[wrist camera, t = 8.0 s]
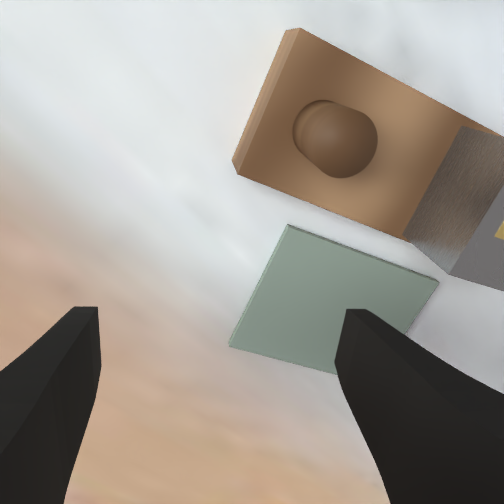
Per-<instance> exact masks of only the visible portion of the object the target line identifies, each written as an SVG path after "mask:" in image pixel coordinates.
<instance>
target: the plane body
mask: <svg viewBox="0 0 504 504" xmlns="http://www.w3.org/2000/svg"><path fill="white" fill-rule="evenodd" d="M461 126H465V127H469V128H472V129H476V130H479V131H483V132H487V133H490V134H494V135H497V136H501V135H499V134H497V133H496V132H494V131H492V130H490V129H488V128H486V127H484V126H482V125H481V124H479V123H477V122H475V121H473V120H471V119H469V118H468V117H466V116H464V115H462V114H460V113H458V112H456V111H454V110H453V109H451V108H449V107H447V106H445V105H443V104H441V103H440V102H438V101H436V100H434V99H432V98H430V97H428V96H426V95H425V94H423V93H421V92H419V91H417V90H415V89H413V88H412V87H410V86H408V85H406V84H404V83H402V82H400V81H399V80H397V79H395V78H393V77H391V76H389V75H387V74H385V73H384V72H382V71H380V70H378V69H376V68H374V67H372V66H371V65H369V64H367V63H365V62H363V61H361V60H359V59H357V58H356V57H354V56H352V55H350V54H348V53H346V52H344V51H343V50H341V49H339V48H337V47H335V46H333V45H331V44H330V43H328V42H326V41H324V40H322V39H320V38H318V37H316V36H315V35H313V34H311V33H309V32H307V31H305V30H303V29H302V28H296V29H291V30H286V31H285V33H284V36H283V38H282V41H281V43H280V45H279V48H278V50H277V53H276V55H275V57H274V60H273V62H272V65H271V67H270V69H269V72H268V74H267V77H266V79H265V81H264V84H263V86H262V89H261V91H260V93H259V96H258V98H257V101H256V103H255V105H254V108H253V110H252V113H251V115H250V117H249V120H248V122H247V125H246V127H245V129H244V132H243V134H242V137H241V139H240V141H239V144H238V146H237V149H236V151H235V153H234V156H233V158H232V162H233V165H234V167H235V169H236V172H237V174H238V175H241V176H243V177H246V178H248V179H251V180H253V181H256V182H258V183H261V184H264V185H266V186H269V187H271V188H274V189H276V190H279V191H281V192H284V193H286V194H289V195H291V196H294V197H296V198H299V199H301V200H304V201H306V202H309V203H311V204H314V205H316V206H319V207H321V208H324V209H326V210H329V211H332V212H334V213H337V214H339V215H342V216H344V217H347V218H349V219H352V220H354V221H357V222H359V223H362V224H364V225H367V226H369V227H372V228H374V229H377V230H379V231H382V232H384V233H387V234H389V235H392V236H394V237H397V238H400V239H402V240H405V241H407V242H410V241H409V240H408V239H407V238H405V237H404V236H403V235H402V233H403V232H404V230H405V228H406V226H407V224H408V222H409V221H410V219H411V217H412V215H413V213H414V211H415V210H416V208H417V206H418V204H419V202H420V201H421V199H422V197H423V195H424V193H425V191H426V190H427V188H428V186H429V184H430V182H431V180H432V179H433V177H434V175H435V173H436V171H437V169H438V168H439V166H440V164H441V162H442V160H443V158H444V157H445V155H446V153H447V151H448V149H449V148H450V146H451V144H452V142H453V140H454V138H455V137H456V135H457V133H458V131H459V129H460V127H461ZM501 137H503V136H501ZM410 243H411V242H410Z"/></svg>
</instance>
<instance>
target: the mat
mask: <svg viewBox="0 0 504 504" xmlns="http://www.w3.org/2000/svg"><path fill="white" fill-rule="evenodd" d="M438 284H439V282H438V281H437V280H436V279H433V278H430V277H428V276H425V275H422V274H420V273H417V272H414V271H412V270H409V269H406V268H404V267H401V266H398V265H396V264H393V263H390V262H388V261H385V260H382V259H379V258H377V257H374V256H371V255H369V254H366V253H363V252H361V251H358V250H355V249H353V248H350V247H347V246H345V245H342V244H339V243H337V242H334V241H331V240H329V239H326V238H323V237H320V236H318V235H315V234H312V233H310V232H307V231H304V230H302V229H299V228H296V227H294V226H291V225H288V224H287V226H286V228H285V230H284V232H283V234H282V236H281V238H280V240H279V242H278V244H277V246H276V248H275V250H274V252H273V254H272V256H271V258H270V260H269V262H268V264H267V266H266V268H265V270H264V272H263V274H262V276H261V278H260V280H259V282H258V284H257V286H256V288H255V290H254V292H253V294H252V296H251V298H250V300H249V302H248V304H247V306H246V309H245V311H244V313H243V315H242V317H241V319H240V321H239V323H238V325H237V327H236V329H235V331H234V333H233V335H232V337H231V339H230V341H229V347H232V348H236V349H240V350H244V351H248V352H252V353H255V354H259V355H263V356H267V357H271V358H274V359H278V360H282V361H286V362H290V363H293V364H297V365H301V366H305V367H309V368H313V369H316V370H320V371H324V372H328V373H332V374H335V375H338V374H337V371H336V367H335V364H334V360H335V356H336V352H337V347H338V343H339V339H340V335H341V330H342V326H343V322H344V318H345V313H346V309H367V310H368V311H370V312H372V313H373V314H375V315H377V316H378V317H380V318H381V319H382V320H384V321H385V322H387V323H388V324H390V325H391V326H393V327H394V328H395V329H397V330H398V331H400V332H401V333H402V334H405V333H406V331H407V330H408V328H409V327H410V325H411V324H412V322H413V321H414V319H415V318H416V316H417V315H418V314H419V312H420V311H421V309H422V308H423V306H424V305H425V303H426V302H427V300H428V299H429V297H430V296H431V294H432V293H433V291H434V290H435V289H436V287H437V286H438Z"/></svg>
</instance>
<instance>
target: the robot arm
mask: <svg viewBox="0 0 504 504" xmlns="http://www.w3.org/2000/svg"><path fill="white" fill-rule="evenodd" d="M334 364H335V367H336V371H337V374H338V378H339V381H340V384H341V387H342V390H343V393H344V395H345V398H346V400H347V402H348V404H349V406H350V409H351V411H352V413H353V415H354V417H355V419H356V422H357V424H358V426H359V428H360V430H361V432H362V434H363V437H364V439H365V441H366V443H367V445H368V447H369V449H370V451H371V454H372V456H373V458H374V460H375V463H376V465H377V467H378V470H379V472H380V475H381V477H382V480H383V483H384V486H385V489H386V492H387V494H388V497H389V500H390V503H391V504H504V394H502V393H500V392H498V391H496V390H494V389H492V388H490V387H488V386H487V385H485V384H483V383H481V382H479V381H477V380H475V379H474V378H472V377H470V376H468V375H466V374H464V373H463V372H461V371H459V370H457V369H456V368H454V367H453V366H451V365H449V364H448V363H446V362H444V361H443V360H441V359H440V358H438V357H436V356H435V355H433V354H432V353H430V352H429V351H427V350H426V349H424V348H423V347H421V346H420V345H418V344H417V343H415V342H414V341H413V340H411V339H410V338H408V337H407V336H405V335H404V334H402V333H401V332H400V331H398V330H397V329H395V328H394V327H393V326H391V325H390V324H388V323H387V322H385V321H384V320H382V319H381V318H380V317H378V316H377V315H375V314H373V313H372V312H370V311H368V310H367V309H346V313H345V318H344V322H343V326H342V330H341V335H340V339H339V343H338V347H337V352H336V356H335V360H334ZM100 371H101V351H100V335H99V319H98V307H73V308H72V309H71V310H70V311H69V312H67V313H66V314H65V315H64V316H63V317H62V318H61V319H60V320H59V321H58V322H57V323H56V324H55V325H54V326H53V327H51V328H50V329H49V330H48V331H47V332H46V333H45V334H44V335H43V336H42V337H41V338H39V339H38V340H37V341H36V342H35V343H34V344H33V345H32V346H30V347H29V348H28V349H27V350H26V351H25V352H24V353H22V354H21V355H20V356H19V357H18V358H16V359H15V360H14V361H13V362H11V363H10V364H9V365H8V366H6V367H5V368H4V369H3V370H1V371H0V504H64V499H65V495H66V491H67V487H68V484H69V480H70V477H71V473H72V470H73V467H74V464H75V461H76V458H77V455H78V452H79V449H80V446H81V442H82V439H83V436H84V433H85V430H86V427H87V424H88V421H89V418H90V414H91V411H92V408H93V405H94V402H95V398H96V393H97V388H98V382H99V377H100Z"/></svg>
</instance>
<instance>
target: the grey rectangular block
mask: <svg viewBox="0 0 504 504" xmlns="http://www.w3.org/2000/svg"><path fill="white" fill-rule="evenodd" d="M402 235H403V236H404V237H405V238H407V239H408V240H409V241H410V242H411V243H412V244H414V245H415V246H416V247H417V248H418V249H419V250H421V251H422V252H423V253H424V254H425V255H426V256H428V257H429V258H430V259H431V260H432V261H433V262H435V263H436V264H437V265H438V266H439V267H440V268H442V269H443V270H444V271H445V272H446V273H447V274H449V275H452V276H455V277H459V278H462V279H465V280H468V281H472V282H475V283H478V284H481V285H485V286H488V287H491V288H494V289H498V290H501V291H504V137H501V136H497V135H494V134H490V133H487V132H483V131H479V130H476V129H472V128H469V127H465V126H461V127H460V129H459V131H458V133H457V135H456V137H455V138H454V140H453V142H452V144H451V146H450V148H449V149H448V151H447V153H446V155H445V157H444V158H443V160H442V162H441V164H440V166H439V168H438V169H437V171H436V173H435V175H434V177H433V179H432V180H431V182H430V184H429V186H428V188H427V190H426V191H425V193H424V195H423V197H422V199H421V201H420V202H419V204H418V206H417V208H416V210H415V211H414V213H413V215H412V217H411V219H410V221H409V222H408V224H407V226H406V228H405V230H404V232H403V233H402Z"/></svg>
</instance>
